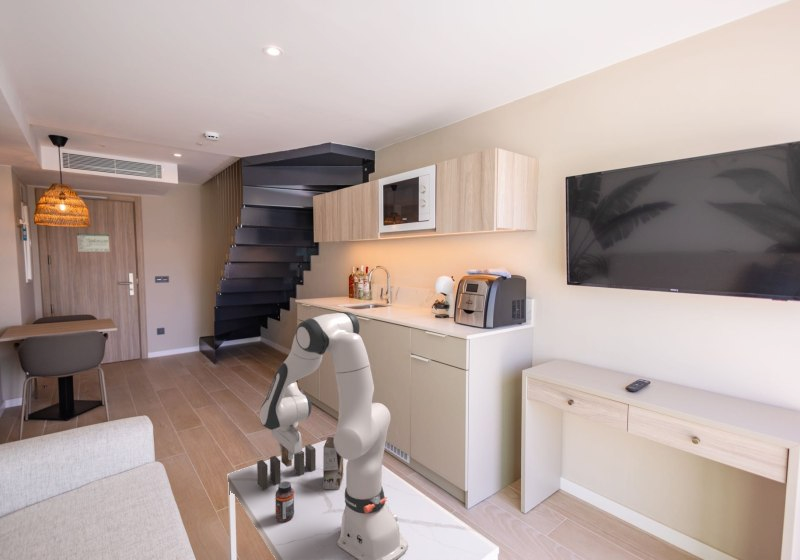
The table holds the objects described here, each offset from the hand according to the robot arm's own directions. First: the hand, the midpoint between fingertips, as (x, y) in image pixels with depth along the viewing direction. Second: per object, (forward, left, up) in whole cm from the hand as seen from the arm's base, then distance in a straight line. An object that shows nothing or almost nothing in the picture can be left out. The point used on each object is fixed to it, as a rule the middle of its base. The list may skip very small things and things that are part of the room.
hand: (286, 455), depth 155 cm
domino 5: (0, -10, -9) cm, 13 cm away
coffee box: (-15, -12, -9) cm, 21 cm away
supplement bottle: (-22, +11, -9) cm, 26 cm away
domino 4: (0, -5, -9) cm, 10 cm away
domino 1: (0, +10, -9) cm, 13 cm away
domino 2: (0, +5, -9) cm, 10 cm away
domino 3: (0, 0, -3) cm, 3 cm away
